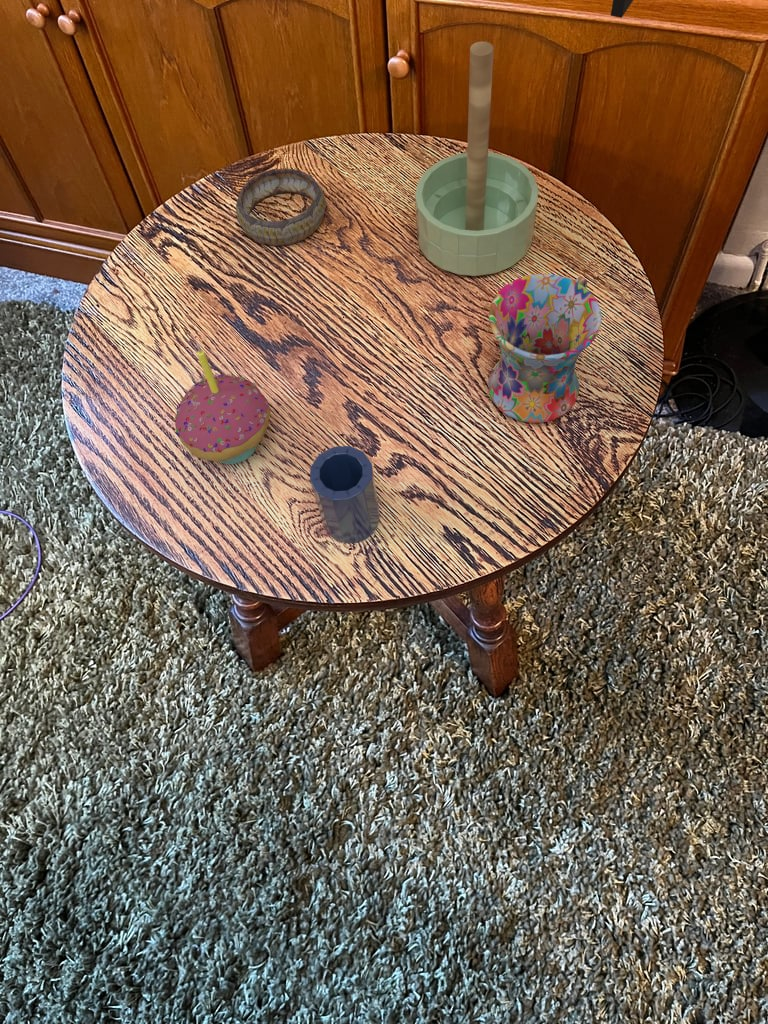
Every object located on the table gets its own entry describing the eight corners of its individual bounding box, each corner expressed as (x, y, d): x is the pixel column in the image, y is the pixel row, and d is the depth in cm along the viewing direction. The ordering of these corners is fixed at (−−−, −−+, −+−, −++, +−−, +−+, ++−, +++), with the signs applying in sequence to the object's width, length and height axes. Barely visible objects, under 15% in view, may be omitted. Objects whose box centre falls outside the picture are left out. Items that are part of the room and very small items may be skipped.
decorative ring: (222, 219, 88) (275, 264, 84) (214, 196, 85) (269, 241, 81) (291, 175, 91) (345, 217, 87) (286, 151, 88) (342, 192, 84)
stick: (486, 229, 83) (497, 44, 66) (478, 241, 83) (487, 57, 65) (470, 224, 84) (476, 39, 66) (462, 236, 83) (466, 52, 66)
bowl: (550, 217, 84) (557, 170, 79) (503, 294, 80) (507, 249, 74) (448, 186, 88) (448, 139, 83) (397, 258, 83) (394, 213, 78)
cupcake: (187, 417, 75) (144, 334, 65) (272, 399, 75) (244, 313, 65) (195, 491, 71) (151, 416, 60) (285, 471, 71) (257, 393, 61)
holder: (389, 507, 69) (383, 459, 62) (362, 552, 67) (352, 509, 60) (341, 485, 70) (329, 437, 63) (313, 529, 68) (298, 484, 61)
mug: (549, 448, 70) (565, 375, 61) (464, 402, 74) (467, 326, 64) (613, 361, 75) (637, 280, 65) (530, 321, 78) (542, 239, 68)
